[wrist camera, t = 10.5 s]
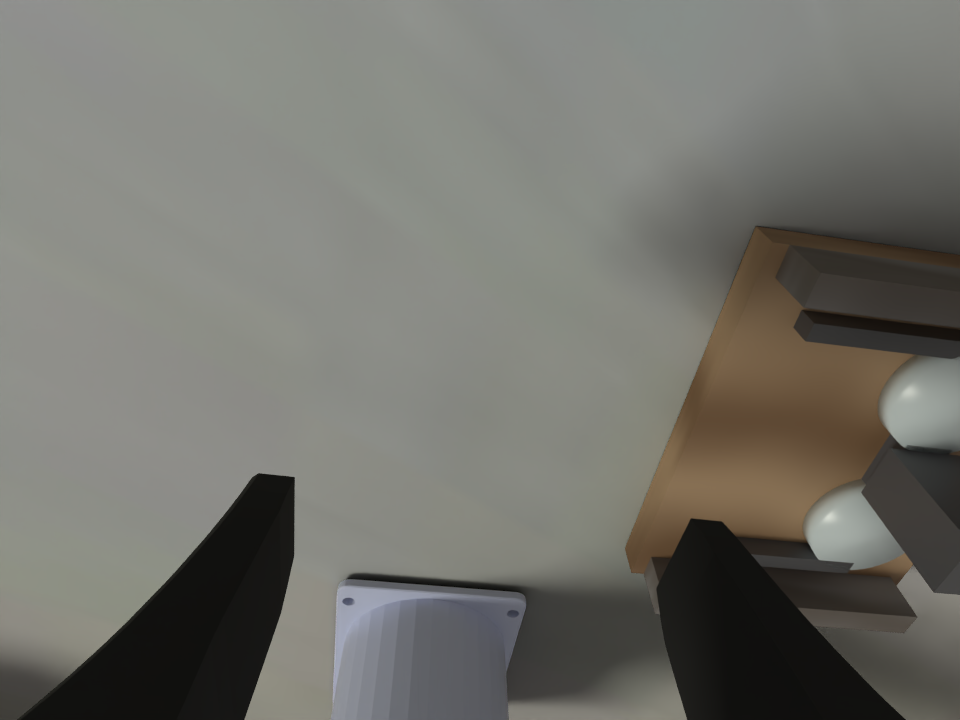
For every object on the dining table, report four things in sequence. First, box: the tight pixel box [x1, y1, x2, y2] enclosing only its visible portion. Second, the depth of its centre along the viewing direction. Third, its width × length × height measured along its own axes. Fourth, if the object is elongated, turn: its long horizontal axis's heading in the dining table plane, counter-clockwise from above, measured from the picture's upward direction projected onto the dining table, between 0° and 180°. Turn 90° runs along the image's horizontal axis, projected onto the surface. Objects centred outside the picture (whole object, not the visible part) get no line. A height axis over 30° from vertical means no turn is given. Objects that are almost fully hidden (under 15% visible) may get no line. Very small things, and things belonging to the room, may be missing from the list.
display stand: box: [625, 226, 960, 633], centre depth 21 cm, size 14×11×3 cm
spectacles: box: [737, 310, 960, 595], centre depth 20 cm, size 10×8×5 cm
